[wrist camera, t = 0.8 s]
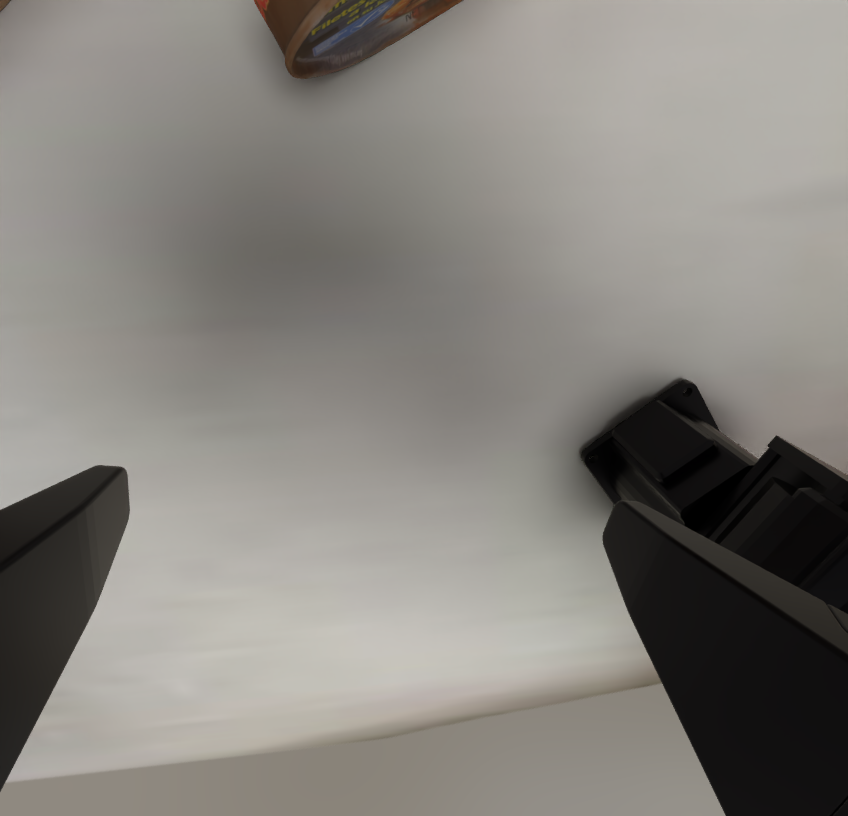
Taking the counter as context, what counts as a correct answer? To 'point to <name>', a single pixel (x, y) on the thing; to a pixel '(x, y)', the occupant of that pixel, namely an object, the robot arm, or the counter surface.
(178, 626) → the counter surface
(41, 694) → the robot arm
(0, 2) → the walnut board
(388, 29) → the tin
